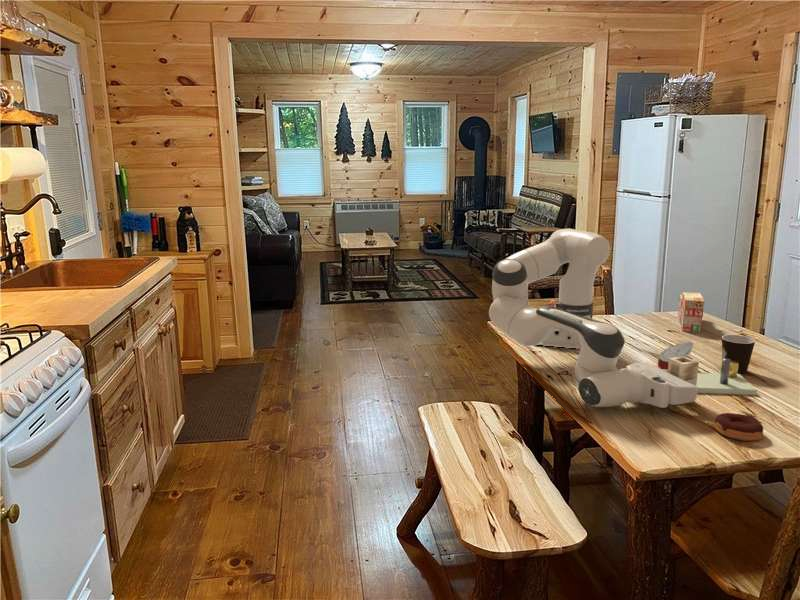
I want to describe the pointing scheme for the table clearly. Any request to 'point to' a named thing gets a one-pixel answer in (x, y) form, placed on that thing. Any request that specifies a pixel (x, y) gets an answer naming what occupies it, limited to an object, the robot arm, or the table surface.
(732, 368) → the brass peg
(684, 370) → the sleeve
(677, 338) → the table surface
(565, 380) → the table surface
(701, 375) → the peg board
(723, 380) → the steel peg
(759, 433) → the donut
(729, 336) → the coffee mug
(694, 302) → the stack of blocks
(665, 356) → the canned food
